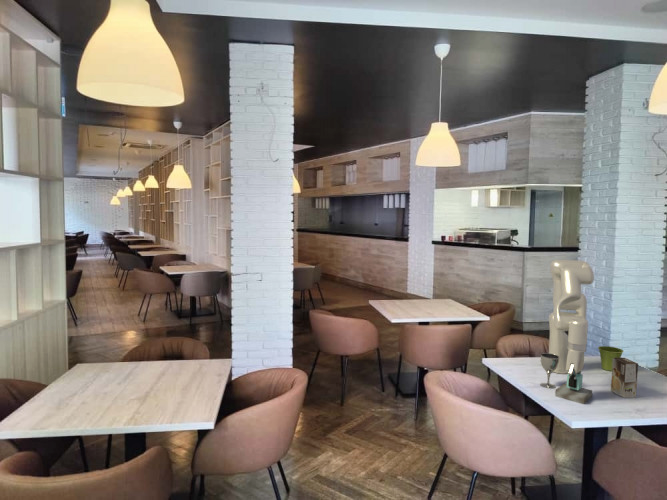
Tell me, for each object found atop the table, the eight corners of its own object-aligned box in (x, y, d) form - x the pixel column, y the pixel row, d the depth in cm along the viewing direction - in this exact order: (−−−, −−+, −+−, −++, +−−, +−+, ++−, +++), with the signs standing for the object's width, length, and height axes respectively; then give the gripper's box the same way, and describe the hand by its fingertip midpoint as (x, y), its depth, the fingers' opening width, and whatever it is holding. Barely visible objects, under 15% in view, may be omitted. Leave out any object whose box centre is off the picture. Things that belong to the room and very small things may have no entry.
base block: (555, 396, 207) (555, 389, 207) (564, 389, 215) (564, 383, 215) (583, 404, 198) (584, 397, 198) (592, 396, 207) (592, 390, 207)
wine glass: (555, 384, 222) (557, 354, 221) (558, 389, 215) (560, 359, 213) (538, 381, 225) (540, 352, 223) (540, 387, 217) (541, 357, 216)
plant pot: (603, 364, 254) (605, 344, 253) (626, 370, 244) (628, 350, 243) (592, 367, 248) (593, 347, 247) (614, 374, 238) (616, 353, 237)
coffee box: (636, 397, 207) (639, 363, 206) (623, 398, 206) (626, 363, 205) (622, 390, 216) (624, 357, 215) (609, 390, 216) (612, 357, 214)
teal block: (566, 387, 207) (567, 374, 206) (570, 384, 210) (571, 371, 210) (578, 390, 203) (579, 377, 203) (581, 387, 207) (582, 374, 206)
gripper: (574, 341, 214) (571, 378, 215) (561, 348, 202) (559, 388, 203) (591, 344, 209) (589, 383, 210) (580, 352, 196) (577, 392, 198)
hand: (574, 385), depth 207 cm, fingers closed on teal block, 4 cm apart
